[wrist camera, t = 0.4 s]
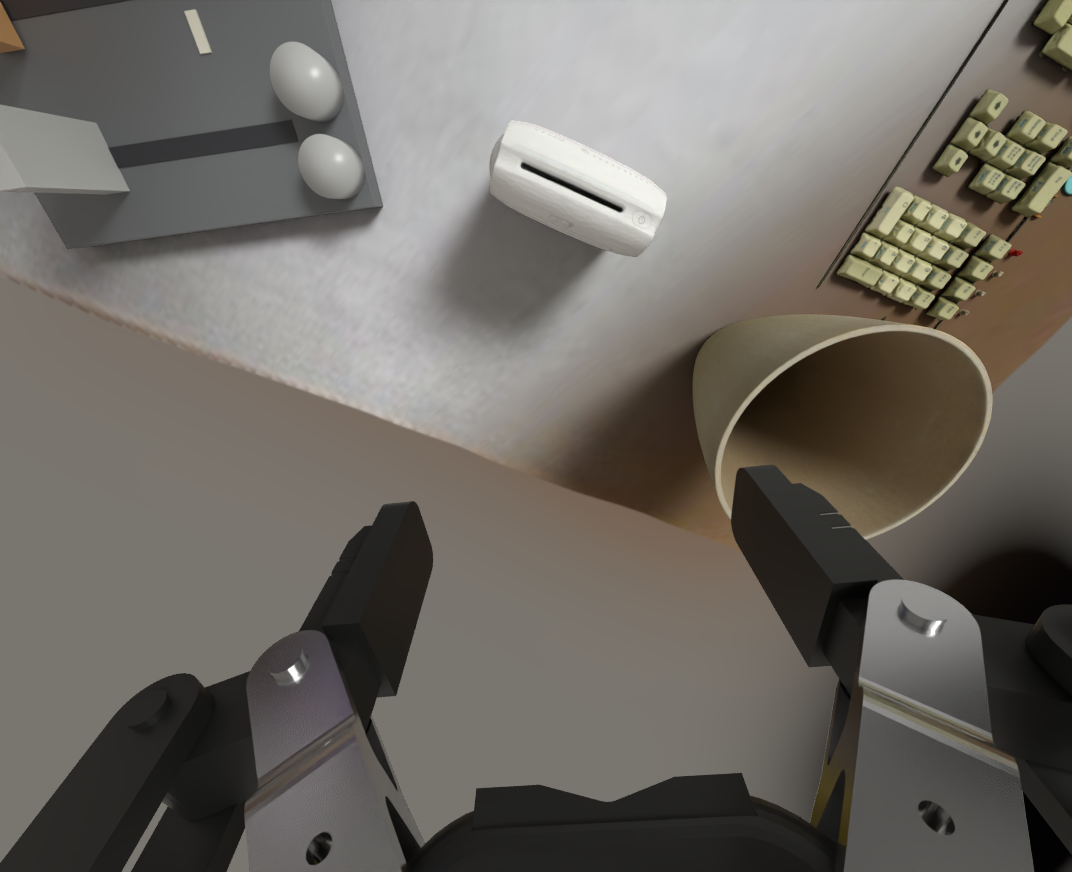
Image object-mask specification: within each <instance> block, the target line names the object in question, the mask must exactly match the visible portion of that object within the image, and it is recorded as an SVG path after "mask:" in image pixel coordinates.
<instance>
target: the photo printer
mask: <svg viewBox="0 0 1072 872" xmlns="http://www.w3.org/2000/svg"><path fill="white" fill-rule="evenodd" d="M490 176H491V183H490V193H491V194H492V195H493V196H494V197H496V198H497V199H498V200H500V201H501V202H502V203H503V204H505V205H507V206H508V207H510V208H512V209H514V210H516V211H517V212H519V213H522V214H523V215H525V216H527V217H529V218H531V219H534V220H536V221H538V222H540V223H542V224H544V225H546V226H548V227H551V228H553V229H555V230H557V231H560V232H562V233H564V234H566V235H569V236H571V237H573V238H576V239H578V240H580V241H583V242H585V243H588V244H590V245H593V246H595V247H598V248H600V249H603V250H606V251H610V252H613V253H616V254H620V255H625V256H632V257H637V256H639V255H640V254H641V253H642V252H643V251H644V250H645V249H646V248H647V246H648V245H649V244H650V242H651V241H652V239H653V237H654V235H655V233H656V231H657V229H658V227H659V224H660V221H661V219H662V217H663V214H664V211H665V207H666V199H667V198H666V194H665V193H664V192H663V191H662V190H661V189H660V188H659V187H658V186H657V185H656V184H655V183H653V182H652V181H651V180H649V179H647V178H646V177H644V176H643V175H641V174H639V173H638V172H636V171H634V170H632V169H630V168H629V167H627V166H625V165H623V164H621V163H619V162H617V161H615V160H613V159H612V158H610V157H608V156H606V155H604V154H602V153H600V152H597V151H595V150H593V149H591V148H589V147H587V146H585V145H583V144H580V143H578V142H576V141H574V140H572V139H569V138H567V137H565V136H562V135H560V134H558V133H555V132H553V131H550V130H548V129H545V128H543V127H540V126H537V125H534V124H531V123H527V122H521V121H512V120H511V121H509V123H508V125H507V127H506V129H505V132H504V134H503V135H502V136H501V137H500V138H499V139H498V141H497V142H496V144H495V146H494V148H493V150H492V154H491V157H490Z"/></svg>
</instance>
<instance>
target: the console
mask: <svg viewBox="0 0 1072 872" xmlns="http://www.w3.org/2000/svg"><path fill="white" fill-rule="evenodd" d="M0 2H1V4H2V6H3V8H4V10H5V11H6V13H7V15H8V17H9V19H10V21H11V23H12V25H13V27H14V29H15V31H16V32H17V34H18V36H19V38H20V40H21V42H22V44H23V46H24V48H25V49H22V50H17V51H11V52H5V53H0V191H4V192H34V193H35V194H36V196H37V198H38V200H39V201H40V203H41V205H42V206H43V208H44V210H45V212H46V213H47V215H48V217H49V218H50V220H51V222H52V223H53V225H54V227H55V229H56V230H57V232H58V234H59V235H60V237H61V239H62V240H63V242H64V244H65V246H66V247H67V249H72V248H83V247H93V246H101V245H108V244H115V243H123V242H130V241H137V240H144V239H152V238H159V237H166V236H173V235H181V234H188V233H195V232H202V231H210V230H217V229H224V228H231V227H239V226H246V225H253V224H260V223H268V222H275V221H282V220H289V219H297V218H304V217H311V216H318V215H326V214H333V213H340V212H347V211H355V210H362V209H369V208H377V207H383V204H382V200H381V196H380V192H379V188H378V184H377V180H376V176H375V172H374V168H373V164H372V160H371V156H370V152H369V149H368V145H367V141H366V137H365V133H364V129H363V125H362V121H361V117H360V113H359V109H358V105H357V101H356V97H355V93H354V89H353V86H352V82H351V78H350V74H349V70H348V66H347V62H346V58H345V54H344V50H343V46H342V42H341V38H340V34H339V30H338V27H337V23H336V19H335V15H334V11H333V7H332V3H331V0H0Z"/></svg>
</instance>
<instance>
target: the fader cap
mask: <svg viewBox="0 0 1072 872" xmlns="http://www.w3.org/2000/svg"><path fill="white" fill-rule="evenodd" d="M22 49H25V48H24V46H23V44H22V42H21V40H20V38H19V36H18V34H17V32H16V31H15V29H14V27H13V25H12V23H11V21H10V19H9V17H8V15H7V13H6V11H5V10H4V8H3V6H2V4H1V2H0V53H5V52H11V51H17V50H22Z"/></svg>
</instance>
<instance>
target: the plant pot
mask: <svg viewBox="0 0 1072 872" xmlns="http://www.w3.org/2000/svg"><path fill="white" fill-rule="evenodd" d="M692 387H693V408H694V416H695V422H696V428H697V433H698V437H699V442H700V446H701V449H702V452H703V456H704V459H705V462H706V465H707V468H708V471H709V474H710V477H711V480H712V483H713V486H714V488H715V491H716V494H717V496H718V499H719V502H720V504H721V506H722V508H723V510H724V512H725V513H726V515H727V516H728V517H729V518H730V520H731V513H732V505H733V496H734V488H735V479H736V473H737V471H738V469H739V468H743V467H752V466H762V465H775V466H776V467H777V468H778V469H779V470H780V471H781V472H782V473H783V474H784V475H785V476H786V477H787V479H788V480H789V481H790V482H791V483H792V484H794V483H802V484H803V485H805V486H807V487H809V488H811V489H812V490H814V491H816V492H818V493H819V494H821V495H823V496H824V497H825V498H826V499H827V500H828V501H829V502H830V503H831V505H832V506H833V507H834V508H835V509H836V510H837V511H838V514H839V515H840V514H841V515H842V516H843V517H844V518H845V519H846V520H847V521H848V522H849V523H850V524H851V528H855V529H856V530H857V532H858V533H859V534H860V535H861V536H862V537H863V538H864V539H865V540H866V539H869V538H872V537H874V536H877V535H879V534H882V533H884V532H886V531H888V530H890V529H892V528H894V527H896V526H898V525H900V524H902V523H904V522H906V521H907V520H909V519H911V518H912V517H914V516H915V515H917V514H918V513H920V512H921V511H923V510H924V509H925V508H926V507H928V506H929V505H930V504H932V503H933V502H934V501H935V500H937V499H938V498H939V497H940V496H941V495H942V494H943V493H945V491H947V490H948V489H949V488H950V487H951V485H953V484H954V482H956V480H957V479H958V478H959V477H960V476H961V474H962V473H963V472H964V471H965V470H966V468H967V467H968V466H969V464H970V463H971V461H972V460H973V458H974V457H975V455H976V453H977V452H978V450H979V448H980V446H981V444H982V442H983V440H984V437H985V435H986V432H987V429H988V426H989V422H990V418H991V412H992V401H993V398H992V389H991V383H990V380H989V377H988V374H987V372H986V369H985V368H984V366H983V364H982V362H981V361H980V359H979V358H978V357H977V355H976V354H975V353H974V352H973V351H972V350H971V349H970V348H969V347H968V346H967V345H966V344H964V343H963V342H961V341H960V340H958V339H956V338H955V337H953V336H951V335H949V334H946V333H944V332H942V331H938V330H935V329H932V328H928V327H922V326H916V325H910V324H903V323H896V322H889V321H882V320H874V319H867V318H859V317H850V316H837V315H813V314H808V315H780V316H770V317H761V318H755V319H750V320H745V321H741V322H737V323H734V324H731V325H728V326H726V327H723V328H721V329H720V330H718V331H717V332H715V333H714V334H713V335H712V336H710V337H709V338H708V339H707V341H706V342H705V343H704V344H703V346H702V347H701V349H700V350H699V353H698V355H697V357H696V361H695V366H694V372H693V386H692Z"/></svg>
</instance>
